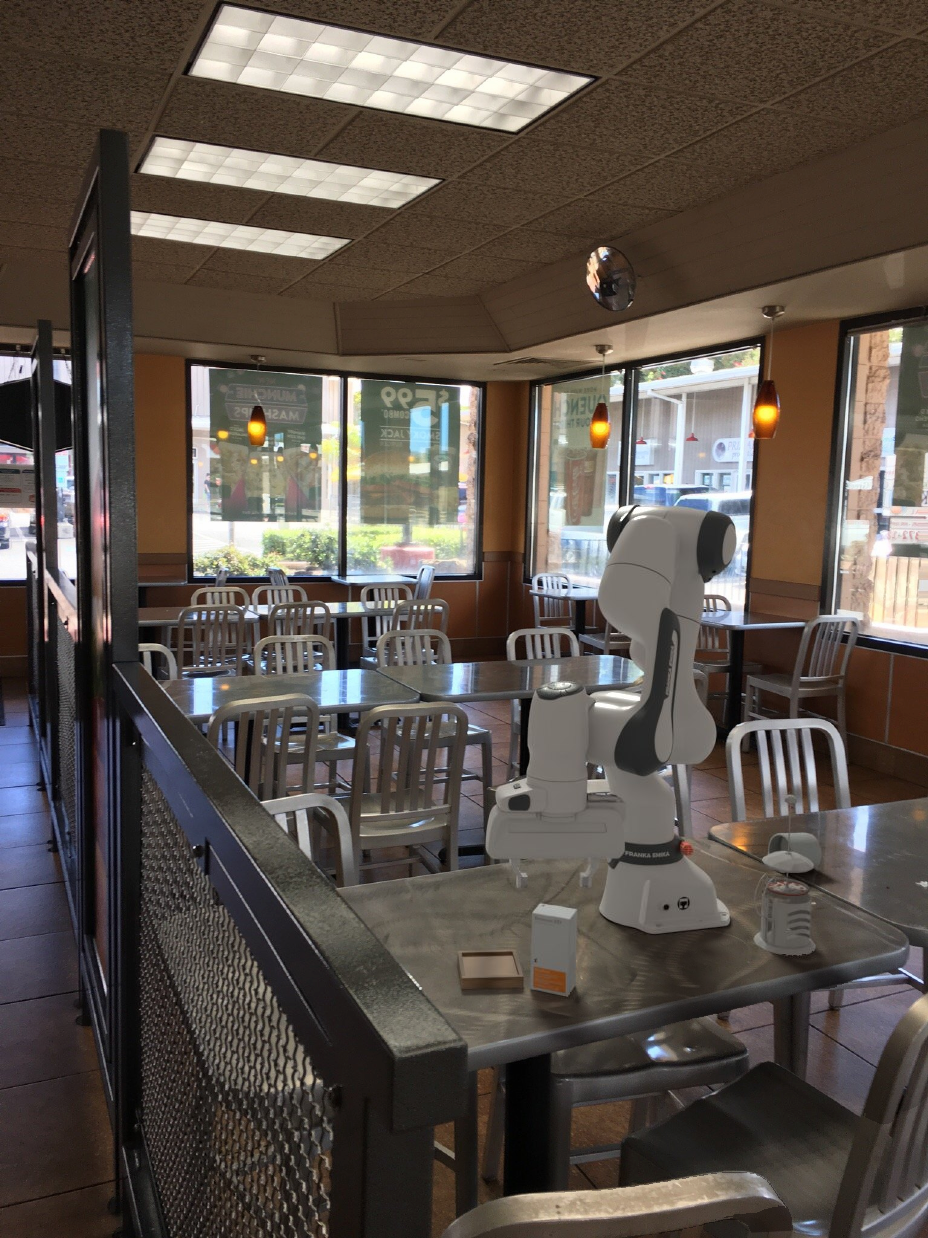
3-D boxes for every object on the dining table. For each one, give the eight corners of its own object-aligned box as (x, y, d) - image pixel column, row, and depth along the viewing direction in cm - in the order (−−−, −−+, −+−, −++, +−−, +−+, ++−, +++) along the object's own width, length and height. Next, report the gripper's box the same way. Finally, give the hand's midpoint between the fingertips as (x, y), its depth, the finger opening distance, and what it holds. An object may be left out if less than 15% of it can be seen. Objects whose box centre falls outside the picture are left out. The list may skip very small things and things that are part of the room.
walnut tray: (515, 960, 157) (515, 949, 157) (523, 987, 148) (523, 976, 148) (457, 961, 156) (457, 951, 156) (461, 989, 147) (461, 978, 147)
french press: (828, 947, 163) (836, 798, 160) (780, 963, 157) (787, 809, 154) (780, 926, 171) (787, 783, 168) (733, 941, 165) (738, 793, 162)
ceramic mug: (825, 873, 196) (826, 835, 196) (791, 878, 193) (792, 840, 193) (789, 857, 206) (790, 820, 206) (756, 861, 203) (757, 825, 203)
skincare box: (529, 990, 147) (530, 912, 146) (538, 978, 151) (539, 902, 150) (568, 998, 145) (570, 919, 144) (576, 985, 149) (578, 908, 148)
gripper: (621, 788, 149) (618, 878, 150) (485, 788, 147) (483, 879, 148) (632, 800, 142) (628, 894, 144) (489, 800, 141) (487, 894, 142)
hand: (553, 886), depth 146 cm, fingers open, 8 cm apart
